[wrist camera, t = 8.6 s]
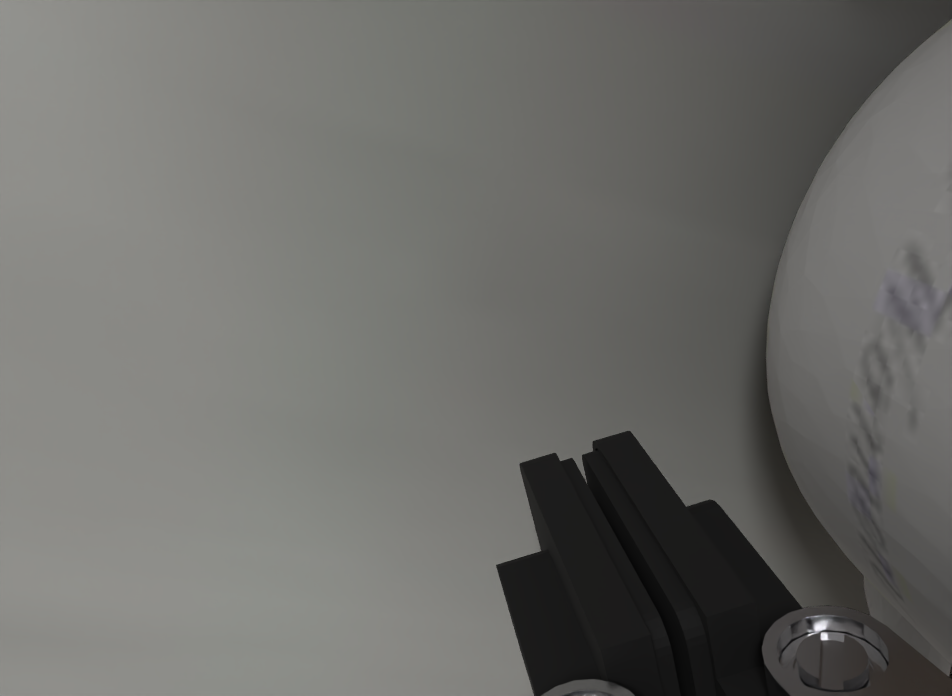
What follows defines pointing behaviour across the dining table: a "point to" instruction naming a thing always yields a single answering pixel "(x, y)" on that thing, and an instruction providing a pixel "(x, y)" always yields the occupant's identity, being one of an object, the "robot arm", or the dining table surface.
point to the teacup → (877, 347)
